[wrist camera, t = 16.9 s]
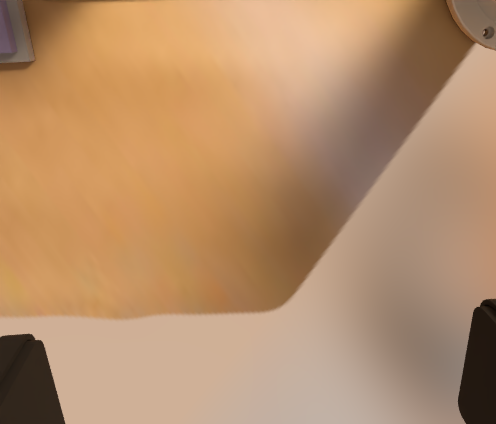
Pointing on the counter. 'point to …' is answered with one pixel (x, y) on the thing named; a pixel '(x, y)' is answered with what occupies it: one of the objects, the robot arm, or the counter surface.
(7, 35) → the ink pad
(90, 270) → the counter surface
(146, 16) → the counter surface
